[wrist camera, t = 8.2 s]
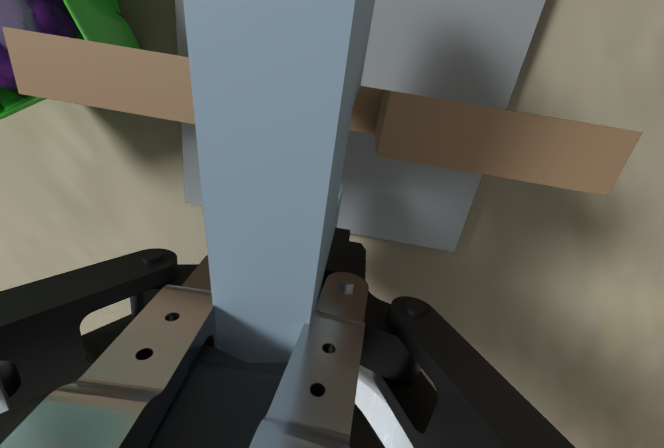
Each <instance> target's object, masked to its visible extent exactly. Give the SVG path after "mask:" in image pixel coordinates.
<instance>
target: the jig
mask: <svg viewBox="0 0 664 448" xmlns="http://www.w3.org/2000/svg"><path fill="white" fill-rule="evenodd" d="M545 1H546V0H375V4H374V10H373V16H372V22H371V28H370V34H369V39H368V45H367V51H366V57H365V63H364V69H363V75H362V81H361V86H360V89H359V92H358V94H357V97H356V100H355V102H354V105H353V108H352V114H351V121H350V127H349V133H348V139H347V145H346V151H345V158H344V164H343V170H342V176H341V177H345V181H344V187H343V193H342V199H341V205H340V211H339V217H338V223H337V228H342V229H348V230H350V233H351V234H356V235H362V236H367V237H373V238H378V239H383V240H389V241H394V242H400V243H405V244H411V245H416V246H422V247H427V248H432V249H438V250H443V251H449V252H455V249H456V247H457V244H458V241H459V238H460V236H461V233H462V230H463V227H464V225H465V222H466V219H467V216H468V214H469V211H470V208H471V205H472V202H473V200H474V197H475V194H476V191H477V189H478V186H479V183H480V180H481V178H482V175H483V174H484V175H490V176H495V177H501V178H507V179H513V180H518V181H524V182H530V183H536V184H541V185H547V186H553V187H559V188H564V189H570V190H576V191H582V192H587V193H593V194H599V195H605V196H608V194H609V192H610V191H611V189H612V187H613V185H614V183H615V182H616V180H617V178H618V176H619V174H620V173H621V171H622V169H623V167H624V165H625V163H626V162H627V160H628V158H629V156H630V154H631V153H632V151H633V149H634V147H635V145H636V143H637V142H638V140H639V138H640V136H641V134H642V133H643V132H637V131H631V130H625V129H619V128H613V127H607V126H601V125H595V124H589V123H583V122H577V121H571V120H565V119H559V118H553V117H547V116H541V115H535V114H529V113H523V112H517V111H511V110H506V109H507V106H508V103H509V100H510V98H511V95H512V92H513V89H514V87H515V84H516V81H517V78H518V76H519V73H520V70H521V67H522V65H523V62H524V59H525V56H526V53H527V51H528V48H529V45H530V42H531V40H532V37H533V34H534V31H535V29H536V26H537V23H538V20H539V18H540V15H541V12H542V9H543V7H544V4H545ZM175 13H176V33H177V53H178V55H172V54H166V53H160V52H154V51H148V50H142V49H136V48H130V47H124V46H118V45H112V44H106V43H99V42H93V41H87V40H81V39H75V38H69V37H63V36H57V35H51V34H45V33H39V32H33V31H27V30H21V29H14V28H8V27H2V29H3V33H4V37H5V41H6V45H7V48H8V52H9V56H10V60H11V64H12V68H13V72H14V76H15V80H16V84H17V88H18V92H19V94H23V95H29V96H35V97H40V98H46V99H52V100H58V101H63V102H69V103H75V104H81V105H87V106H92V107H98V108H104V109H110V110H115V111H121V112H127V113H133V114H138V115H144V116H150V117H156V118H161V119H167V120H173V121H179V122H181V132H182V151H183V171H184V191H185V203H187V204H193V205H198V206H203V200H202V190H201V179H200V169H199V159H198V148H197V138H196V128H195V117H194V107H193V97H192V86H191V76H190V66H189V55H188V45H187V35H186V24H185V14H184V4H183V0H175Z"/></svg>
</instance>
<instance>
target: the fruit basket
mask: <svg viewBox="0 0 664 448" xmlns="http://www.w3.org/2000/svg"><path fill="white" fill-rule="evenodd" d="M120 15H121V11H120V8H119V3H118V1H117V0H0V119H3V118H5V117H7V116H10V115H12V114H14V113H16V112H18V111H20V110H23V109H25V108H27V107H29V106H31V105H34V104H36V103H38V102H40V101H42V100H45V99H46V98H40V97H35V96H29V95H23V94H19V92H18V88H17V84H16V80H15V76H14V72H13V68H12V64H11V60H10V56H9V52H8V48H7V45H6V41H5V37H4V33H3V29H2V27H8V28H14V29H21V30H27V31H33V32H39V33H45V34H51V35H57V36H63V37H69V38H75V39H81V40H87V41H93V42H99V43H106V44H112V45H118V46H124V47H130V48H136V49H141V48H140V46H139V44H138V42H137V40H136V38H135V36H134V33H133V31H132V29H131V27H130V26H129V25H128V23H127V22H126V21H125V19H124V18H122V17H121V16H120Z"/></svg>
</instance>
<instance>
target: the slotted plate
mask: <svg viewBox="0 0 664 448" xmlns="http://www.w3.org/2000/svg"><path fill="white" fill-rule="evenodd" d="M183 4H184V14H185V24H186V35H187V45H188V55H189V66H190V76H191V86H192V97H193V107H194V117H195V128H196V138H197V148H198V159H199V169H200V179H201V190H202V200H203V210H204V221H205V231H206V241H207V252H208V262H209V272H210V283H211V293H212V303H213V305H214V309H215V322H216V336H217V349H219V350H221V351H223V352H225V353H227V354H229V355H231V356H234V357H236V358H238V359H240V360H242V361H245V362H249V363H267V362H289V360H290V357H291V355H292V352H293V350H294V347H295V345H296V342H297V340H298V338H299V335H300V333H301V330H302V328H303V325H304V323H307V324H309V323H310V320H311V316H312V312H313V310H315V307H316V304H317V301H318V299H319V296H320V294H321V291H322V285H323V279H324V273H325V268H326V263H327V259H328V255H329V251H330V247H331V243H332V239H333V235H334V231H335V227H337V223H338V217H339V211H340V205H341V199H342V193H343V187H344V181H345V177H341V176H342V170H343V164H344V158H345V151H346V145H347V139H348V133H349V127H350V121H351V114H352V108H353V105H354V102H355V100H356V97H357V94H358V92H359V89H360V86H361V81H362V75H363V69H364V63H365V57H366V51H367V45H368V39H369V34H370V28H371V22H372V16H373V10H374V4H375V0H183Z"/></svg>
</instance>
